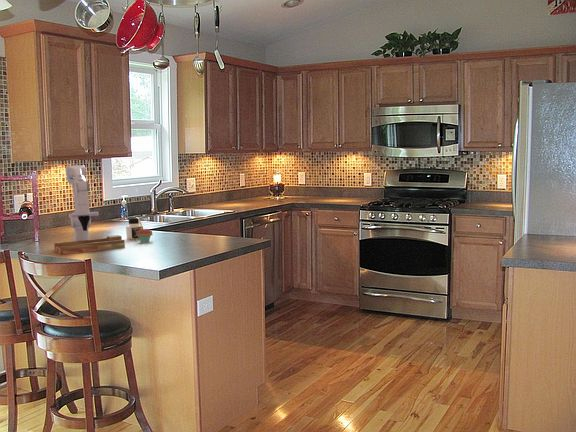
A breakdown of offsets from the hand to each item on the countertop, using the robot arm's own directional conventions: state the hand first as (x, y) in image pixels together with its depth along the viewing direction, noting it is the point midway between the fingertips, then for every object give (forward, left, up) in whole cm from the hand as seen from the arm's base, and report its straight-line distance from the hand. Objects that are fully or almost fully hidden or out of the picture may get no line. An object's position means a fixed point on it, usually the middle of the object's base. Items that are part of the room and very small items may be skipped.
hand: (84, 230), depth 329 cm
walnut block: (+4, +14, -7) cm, 16 cm away
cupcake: (-1, +32, -10) cm, 33 cm away
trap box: (+4, +1, -9) cm, 10 cm away
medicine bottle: (-17, +32, -10) cm, 37 cm away
